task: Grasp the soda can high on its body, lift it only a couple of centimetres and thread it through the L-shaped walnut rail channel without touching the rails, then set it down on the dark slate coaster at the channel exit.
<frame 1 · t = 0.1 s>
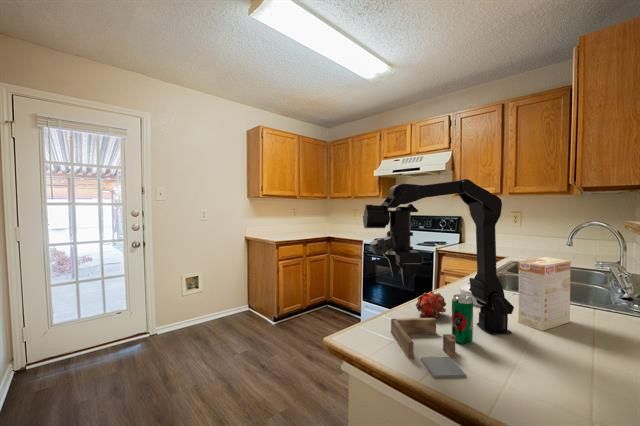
hand: (399, 282, 79), 15 cm above the worktop, fingers open, 9 cm apart
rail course: (418, 341, 73), on the worktop
ramekin: (475, 302, 104), on the worktop
dragon fruit: (430, 316, 91), on the worktop
coffeecake box: (543, 323, 85), on the worktop
soda can: (461, 341, 74), on the worktop
slate coaster: (442, 368, 61), on the worktop
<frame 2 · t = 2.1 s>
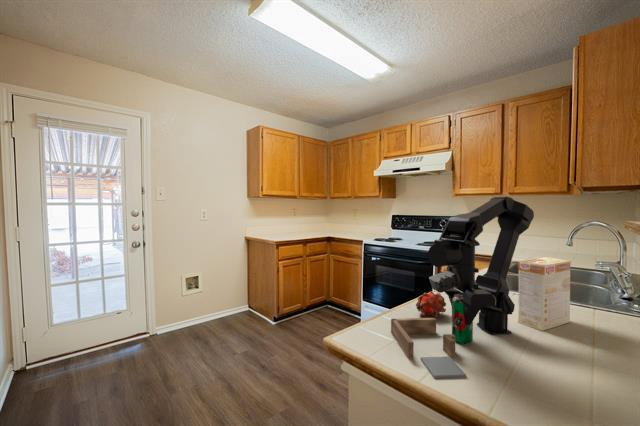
hand: (462, 320, 74), 6 cm above the worktop, fingers closed on soda can, 5 cm apart
soda can: (461, 341, 74), on the worktop, touching gripper
everything else where it was.
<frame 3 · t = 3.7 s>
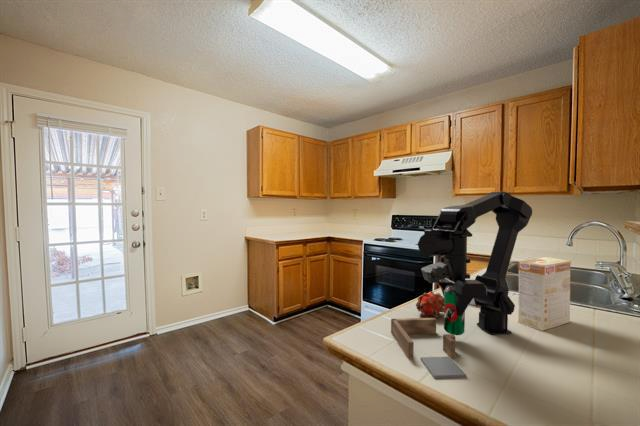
hand: (454, 311, 74), 8 cm above the worktop, fingers closed on soda can, 5 cm apart
soda can: (453, 332, 74), point 2 cm above the worktop, touching gripper
everything else where it was.
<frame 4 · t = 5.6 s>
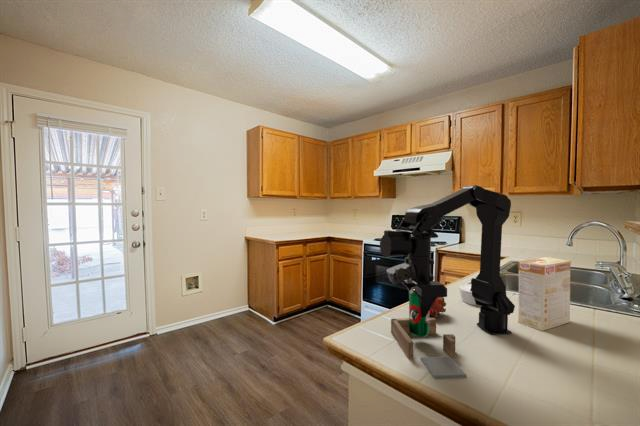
hand: (419, 312, 73), 8 cm above the worktop, fingers closed on soda can, 5 cm apart
soda can: (419, 334, 73), point 2 cm above the worktop, touching gripper
everything else where it was.
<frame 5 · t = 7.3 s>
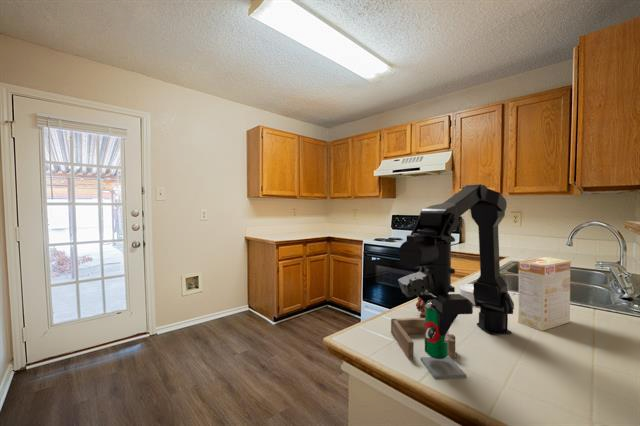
hand: (436, 329, 63), 8 cm above the worktop, fingers closed on soda can, 5 cm apart
soda can: (436, 355, 63), point 2 cm above the worktop, touching gripper
everything else where it was.
when the fingers open (7 cm above the worktop, at t = 8.9 s): soda can stays where it is, resting on slate coaster.
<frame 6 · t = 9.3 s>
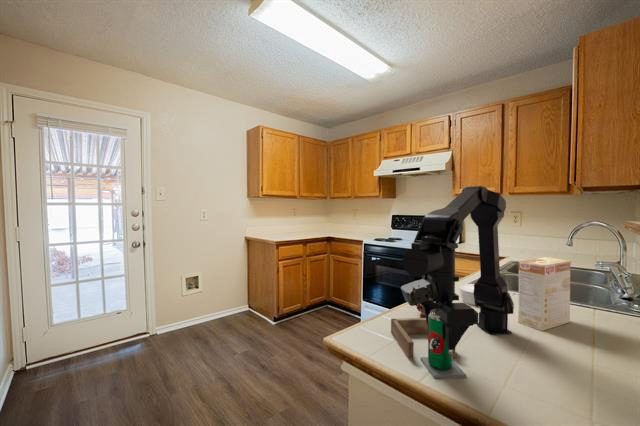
hand: (440, 338, 61), 7 cm above the worktop, fingers open, 9 cm apart
soda can: (439, 366, 61), resting on slate coaster
everything else where it was.
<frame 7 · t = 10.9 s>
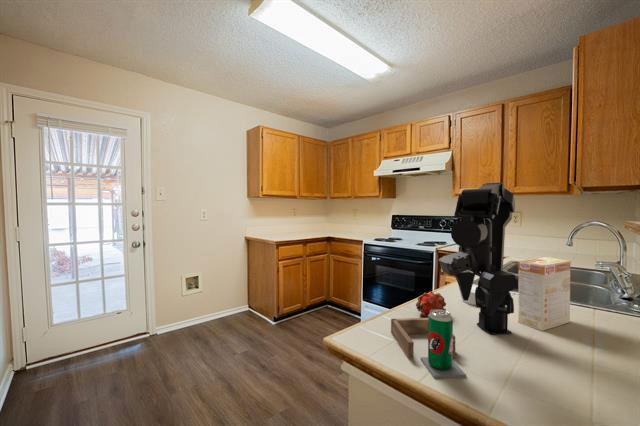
hand: (476, 307, 65), 12 cm above the worktop, fingers open, 9 cm apart
nothing on the worktop moved.
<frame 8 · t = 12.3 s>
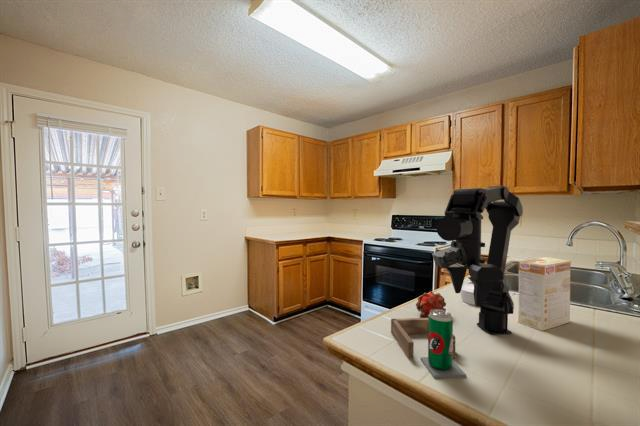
hand: (467, 298, 70), 13 cm above the worktop, fingers open, 9 cm apart
nothing on the worktop moved.
at the end: soda can 0.5 cm from the slate coaster (horizontally); soda can tilted 0°; soda can touching slate coaster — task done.
